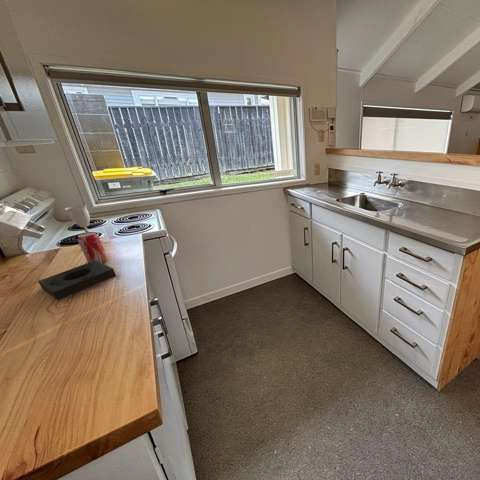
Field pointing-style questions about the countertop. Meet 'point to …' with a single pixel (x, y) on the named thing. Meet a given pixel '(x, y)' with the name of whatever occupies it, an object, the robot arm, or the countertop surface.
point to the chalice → (80, 215)
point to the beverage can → (92, 247)
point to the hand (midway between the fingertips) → (42, 233)
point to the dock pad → (76, 279)
